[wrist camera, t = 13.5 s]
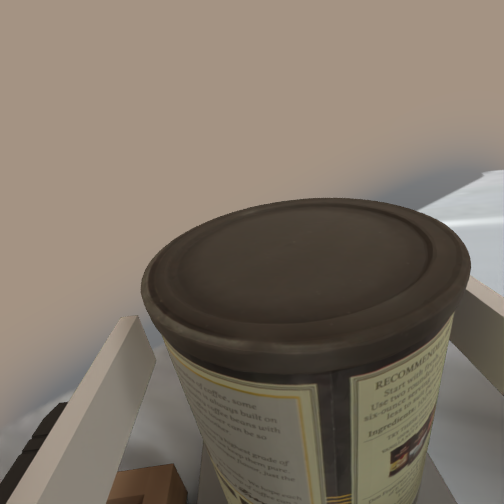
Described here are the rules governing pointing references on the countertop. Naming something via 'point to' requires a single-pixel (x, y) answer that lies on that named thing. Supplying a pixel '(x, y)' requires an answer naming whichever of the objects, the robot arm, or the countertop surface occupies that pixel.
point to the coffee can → (311, 344)
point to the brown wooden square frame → (148, 486)
